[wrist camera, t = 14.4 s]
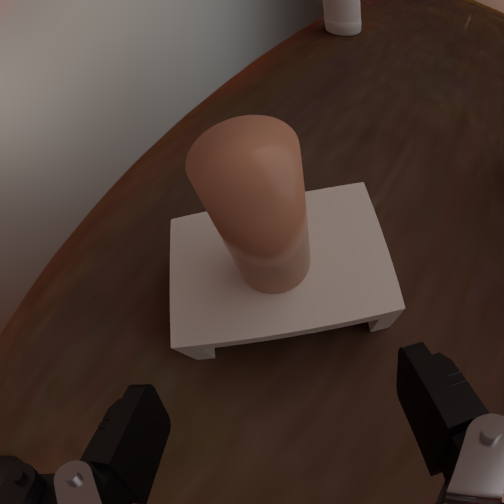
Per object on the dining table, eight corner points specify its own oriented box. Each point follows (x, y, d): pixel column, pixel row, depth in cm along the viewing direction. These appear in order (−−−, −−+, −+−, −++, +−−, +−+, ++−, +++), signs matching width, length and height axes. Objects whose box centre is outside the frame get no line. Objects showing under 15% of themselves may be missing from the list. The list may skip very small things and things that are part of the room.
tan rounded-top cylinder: (243, 299, 24) (183, 209, 14) (237, 236, 27) (188, 129, 16) (316, 287, 23) (310, 183, 13) (304, 224, 26) (288, 106, 16)
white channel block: (197, 359, 29) (170, 348, 23) (192, 249, 34) (171, 219, 29) (388, 327, 27) (405, 308, 21) (357, 218, 32) (363, 182, 27)
